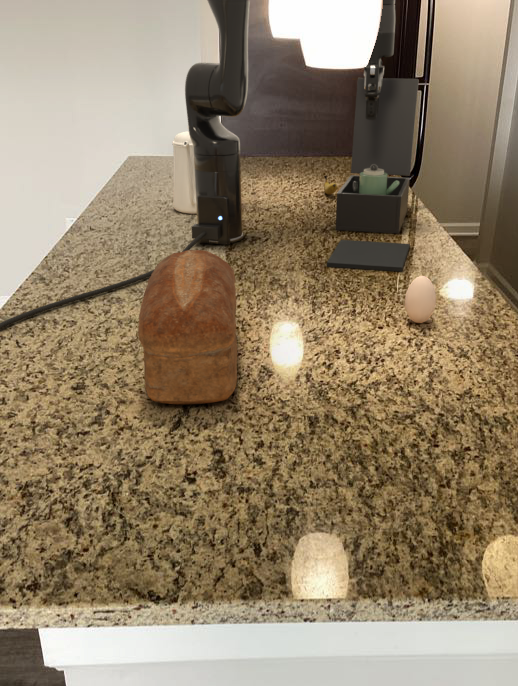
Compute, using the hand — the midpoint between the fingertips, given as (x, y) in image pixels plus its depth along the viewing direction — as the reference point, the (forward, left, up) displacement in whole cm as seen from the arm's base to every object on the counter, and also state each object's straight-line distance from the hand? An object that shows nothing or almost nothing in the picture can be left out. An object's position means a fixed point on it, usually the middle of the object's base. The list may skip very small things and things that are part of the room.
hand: (372, 116), depth 165 cm
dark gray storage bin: (+1, -1, -22) cm, 22 cm away
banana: (+24, +13, -22) cm, 35 cm away
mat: (-27, -4, -22) cm, 35 cm away
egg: (-60, -16, -22) cm, 66 cm away
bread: (-82, +13, -22) cm, 86 cm away
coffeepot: (+2, +41, -22) cm, 47 cm away
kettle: (-2, -1, -21) cm, 21 cm away
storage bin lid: (+13, -1, -4) cm, 14 cm away
